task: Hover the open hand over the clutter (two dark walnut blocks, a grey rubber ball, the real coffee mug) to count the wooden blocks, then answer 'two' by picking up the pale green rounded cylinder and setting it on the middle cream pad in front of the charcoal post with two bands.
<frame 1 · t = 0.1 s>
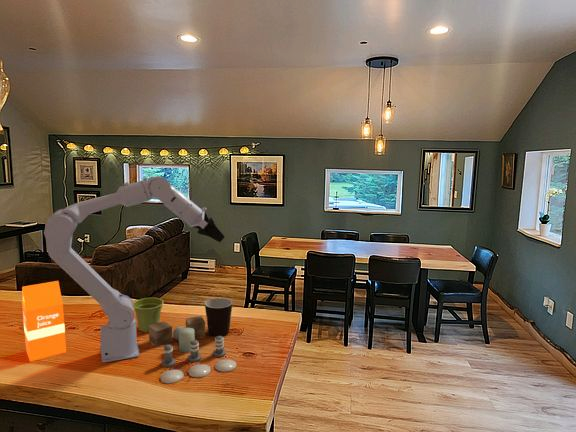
hand: (219, 236, 117), 32 cm above the kitchen island, tool tilted 50°, fingers open, 7 cm apart
orange juice: (46, 352, 111), on the kitchen island
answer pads: (199, 371, 103), on the kitchen island
grey ball: (179, 339, 120), on the kitchen island
coffee mug: (220, 331, 126), on the kitchen island
pale green rounded cylinder: (186, 348, 114), on the kitchen island
plant pot: (149, 329, 127), on the kitchen island
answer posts: (194, 358, 109), on the kitchen island
walnut block a: (160, 341, 119), on the kitchen island
walnut block b: (195, 335, 123), on the kitchen island
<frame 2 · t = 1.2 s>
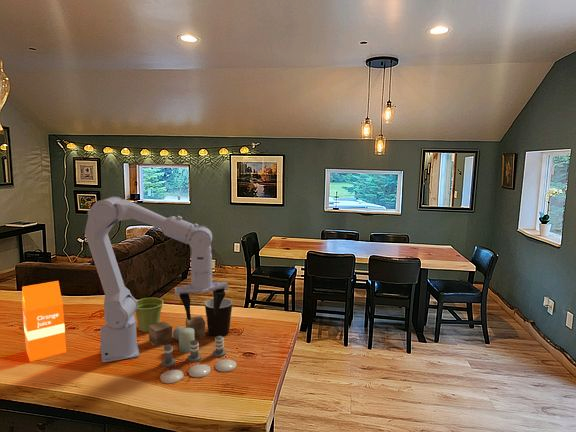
hand: (202, 316, 112), 10 cm above the kitchen island, tool pointing down, fingers open, 7 cm apart
nothing on the kitchen island moved.
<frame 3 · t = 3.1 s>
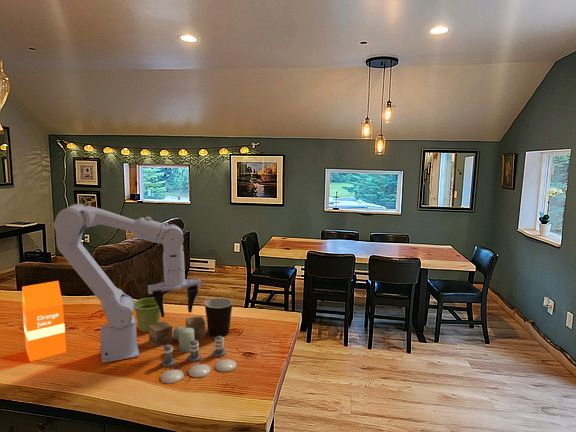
hand: (176, 313, 114), 10 cm above the kitchen island, tool pointing down, fingers open, 7 cm apart
nothing on the kitchen island moved.
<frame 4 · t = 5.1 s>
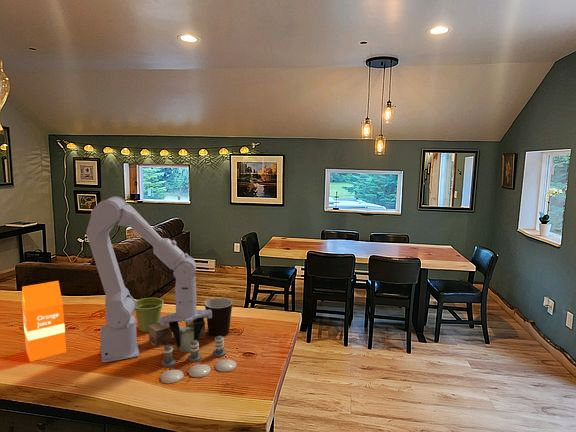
hand: (186, 344, 114), 1 cm above the kitchen island, tool pointing down, fingers closed on pale green rounded cylinder, 4 cm apart
pale green rounded cylinder: (186, 348, 114), on the kitchen island, touching gripper
everything else where it was.
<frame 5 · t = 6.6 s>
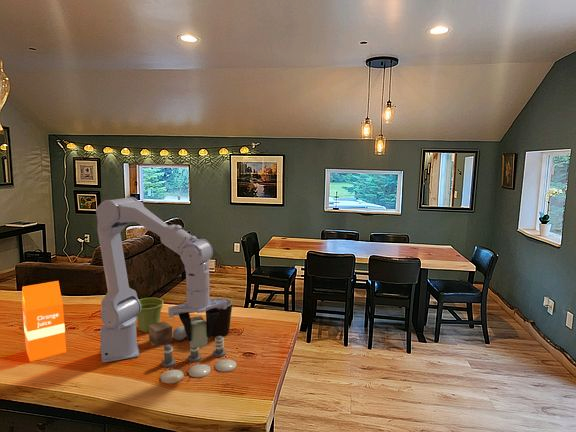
hand: (198, 338, 102), 9 cm above the kitchen island, tool pointing down, fingers closed on pale green rounded cylinder, 4 cm apart
pale green rounded cylinder: (198, 343, 102), point 7 cm above the kitchen island, touching gripper
everything else where it was.
when the fingers open (3 cm above the kitchen island, at t = 8.2 s): pale green rounded cylinder drops 1 cm, resting on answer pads.
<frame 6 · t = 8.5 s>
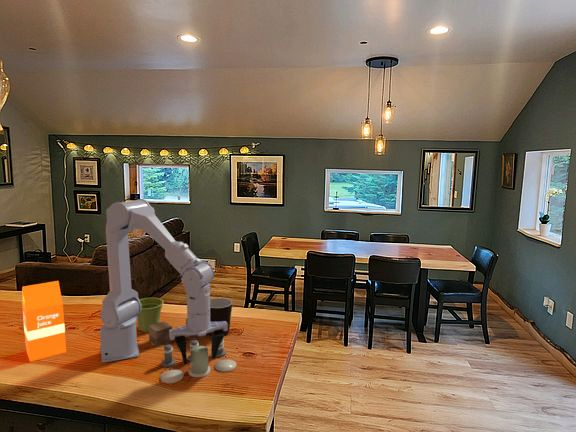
hand: (199, 360, 102), 3 cm above the kitchen island, tool pointing down, fingers open, 7 cm apart
pale green rounded cylinder: (199, 369, 103), resting on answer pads
everything else where it was.
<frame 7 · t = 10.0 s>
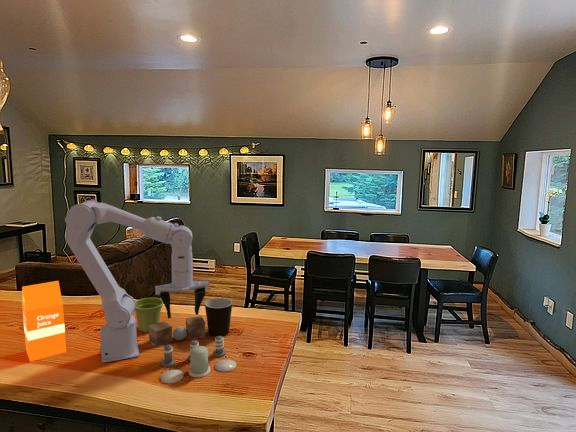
hand: (183, 315, 113), 10 cm above the kitchen island, tool pointing down, fingers open, 7 cm apart
nothing on the kitchen island moved.
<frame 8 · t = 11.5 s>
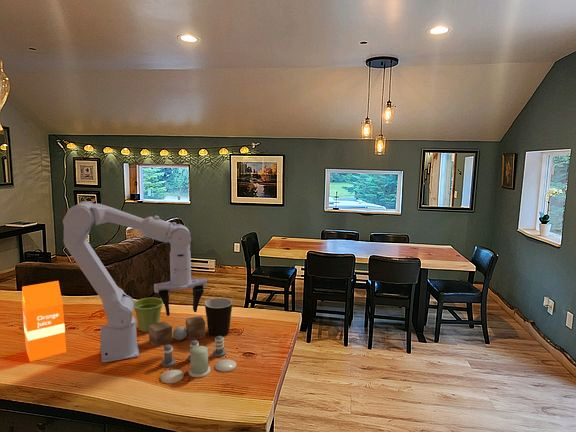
hand: (181, 312, 114), 10 cm above the kitchen island, tool pointing down, fingers open, 7 cm apart
nothing on the kitchen island moved.
at the end: pale green rounded cylinder 0.2 cm from the target spot, resting on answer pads; pale green rounded cylinder tilted 0°; the gripper is holding nothing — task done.
